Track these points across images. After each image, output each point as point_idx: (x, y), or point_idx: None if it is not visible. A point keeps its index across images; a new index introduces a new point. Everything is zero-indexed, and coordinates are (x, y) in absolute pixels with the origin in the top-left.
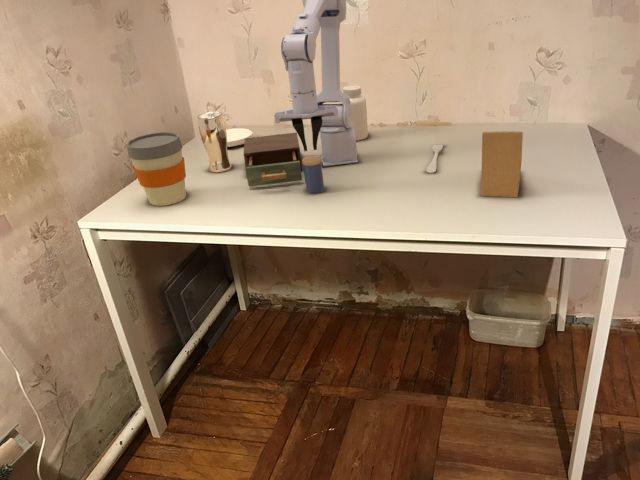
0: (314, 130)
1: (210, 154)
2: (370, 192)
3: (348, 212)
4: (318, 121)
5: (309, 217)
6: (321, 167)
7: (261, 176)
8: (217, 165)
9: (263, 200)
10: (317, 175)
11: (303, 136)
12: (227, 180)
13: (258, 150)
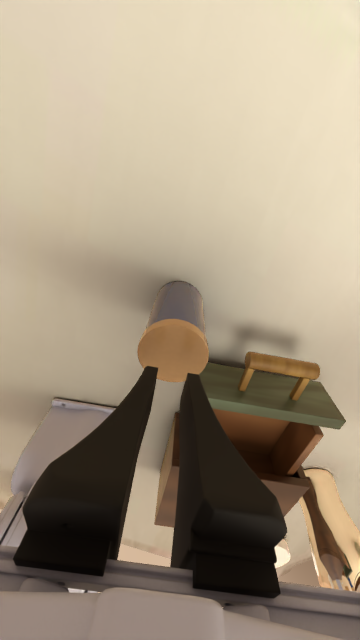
0: (125, 440)
1: (348, 514)
2: (33, 211)
3: (124, 58)
4: (57, 500)
5: (263, 91)
6: (147, 324)
7: (319, 372)
8: (328, 484)
9: (319, 305)
10: (169, 301)
11: (202, 426)
12: (328, 435)
13: (270, 487)
